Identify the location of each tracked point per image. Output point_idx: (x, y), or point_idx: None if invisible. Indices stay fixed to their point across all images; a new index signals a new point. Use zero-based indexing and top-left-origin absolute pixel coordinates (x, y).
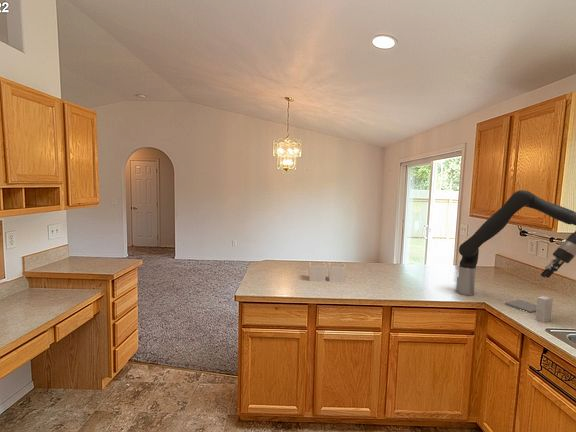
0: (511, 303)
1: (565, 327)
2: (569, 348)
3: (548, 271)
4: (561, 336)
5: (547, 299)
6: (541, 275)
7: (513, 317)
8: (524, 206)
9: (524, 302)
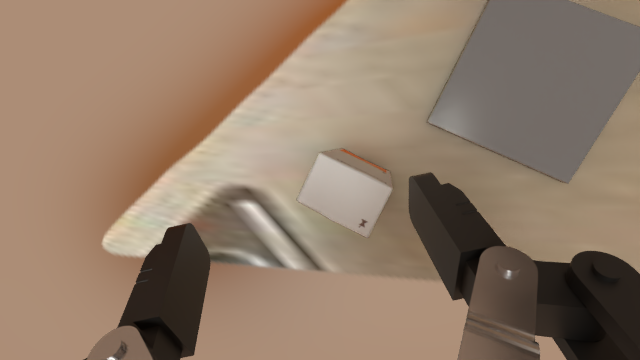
0: (513, 13)
1: (326, 253)
2: (126, 250)
3: (149, 297)
4: (211, 235)
5: (313, 209)
6: (409, 184)
7: (294, 64)
8: None
9: (603, 73)
